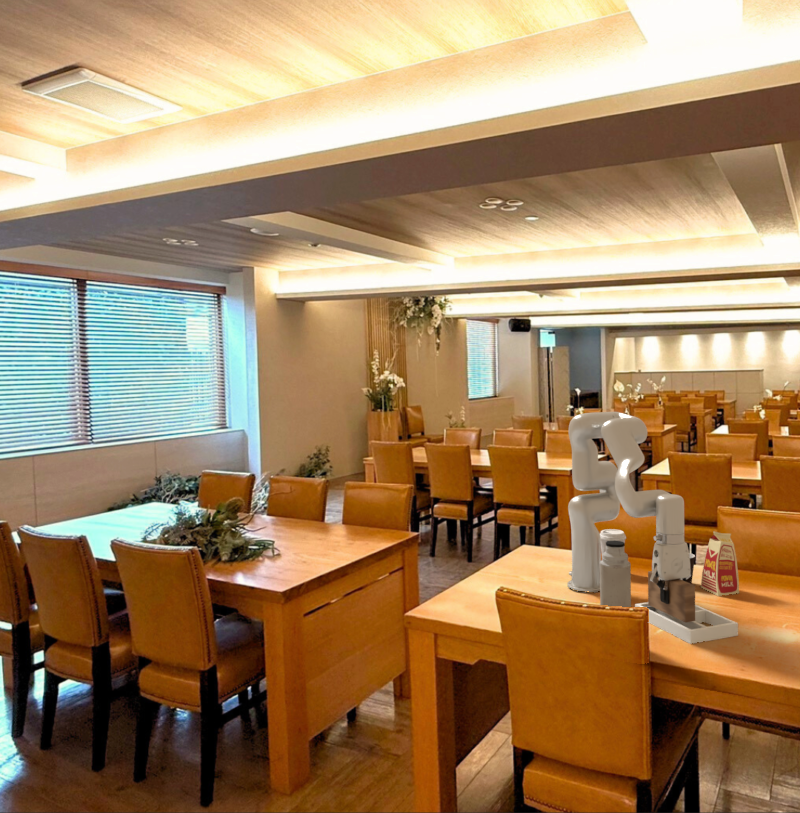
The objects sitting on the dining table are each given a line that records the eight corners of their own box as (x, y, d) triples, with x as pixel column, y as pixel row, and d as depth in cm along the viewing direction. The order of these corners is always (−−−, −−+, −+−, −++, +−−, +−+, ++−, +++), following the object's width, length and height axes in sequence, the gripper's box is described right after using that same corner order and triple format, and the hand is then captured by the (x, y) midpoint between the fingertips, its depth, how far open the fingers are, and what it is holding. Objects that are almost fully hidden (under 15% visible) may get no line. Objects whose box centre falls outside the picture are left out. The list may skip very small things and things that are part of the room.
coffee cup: (596, 569, 270) (595, 528, 269) (622, 568, 269) (622, 528, 268) (602, 576, 260) (602, 535, 259) (629, 576, 260) (629, 534, 259)
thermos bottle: (596, 638, 203) (595, 538, 202) (625, 637, 204) (624, 537, 202) (605, 649, 195) (604, 546, 194) (635, 648, 196) (634, 545, 194)
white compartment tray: (635, 615, 220) (634, 604, 220) (678, 608, 226) (678, 597, 225) (690, 644, 198) (690, 631, 198) (738, 635, 203) (738, 623, 203)
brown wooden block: (648, 604, 217) (648, 571, 216) (657, 603, 218) (657, 570, 217) (685, 622, 202) (685, 586, 201) (695, 620, 203) (695, 585, 202)
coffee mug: (697, 588, 245) (697, 558, 244) (670, 587, 246) (670, 558, 246) (690, 578, 256) (690, 549, 255) (664, 577, 258) (664, 549, 257)
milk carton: (718, 596, 236) (718, 534, 235) (699, 588, 245) (699, 528, 244) (742, 593, 238) (742, 532, 237) (722, 585, 247) (722, 526, 246)
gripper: (654, 544, 202) (655, 609, 203) (703, 538, 208) (703, 601, 209) (637, 538, 209) (638, 601, 210) (684, 532, 215) (685, 594, 216)
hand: (670, 601), depth 210 cm, fingers closed on brown wooden block, 3 cm apart
